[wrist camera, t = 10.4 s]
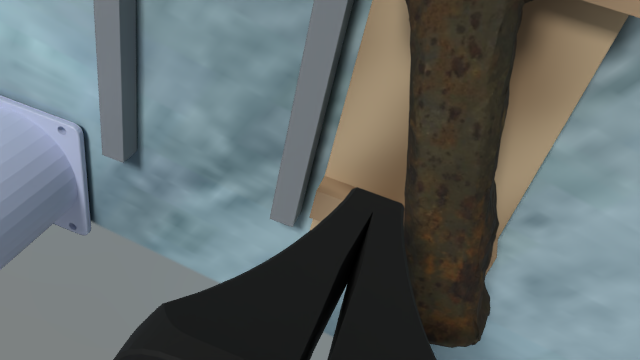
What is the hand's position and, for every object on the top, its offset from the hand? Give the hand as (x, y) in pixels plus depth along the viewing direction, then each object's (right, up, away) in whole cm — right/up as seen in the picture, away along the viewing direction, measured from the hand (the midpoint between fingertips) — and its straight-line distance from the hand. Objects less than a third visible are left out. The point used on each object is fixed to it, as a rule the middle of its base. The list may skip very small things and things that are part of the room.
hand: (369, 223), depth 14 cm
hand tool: (+1, +4, +3) cm, 5 cm away
